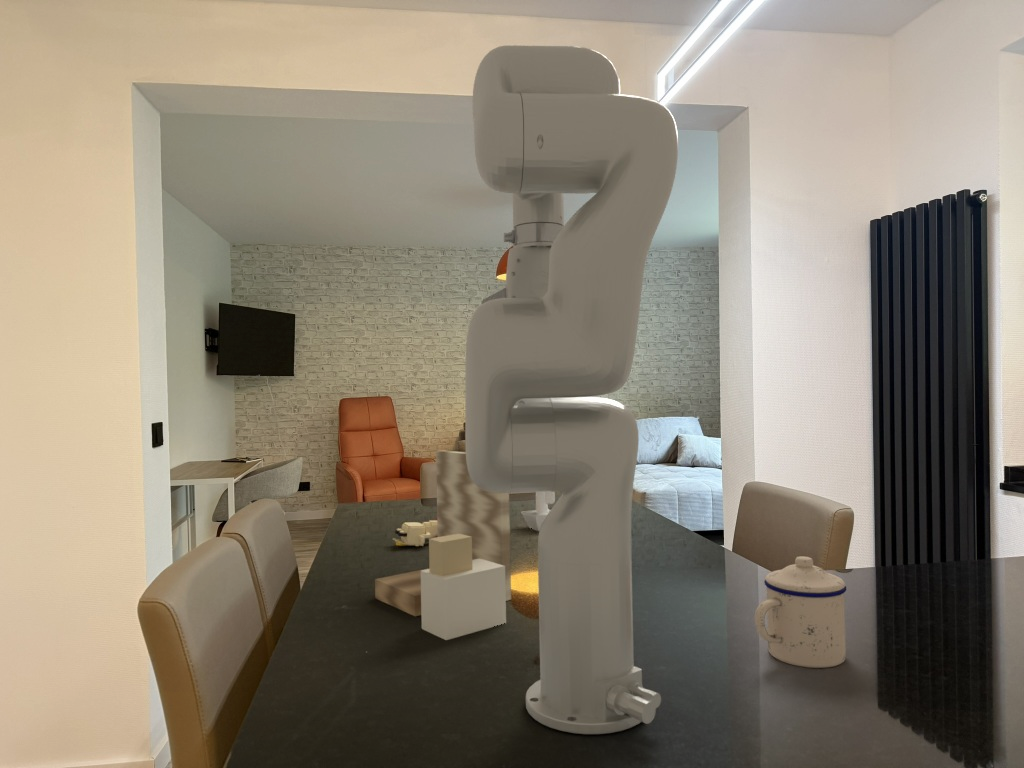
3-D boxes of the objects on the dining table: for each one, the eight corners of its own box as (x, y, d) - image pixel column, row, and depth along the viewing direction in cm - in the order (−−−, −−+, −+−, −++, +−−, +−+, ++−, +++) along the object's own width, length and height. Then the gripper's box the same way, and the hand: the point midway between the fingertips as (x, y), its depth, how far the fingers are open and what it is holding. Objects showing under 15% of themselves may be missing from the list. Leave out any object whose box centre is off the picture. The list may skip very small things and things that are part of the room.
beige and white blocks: (506, 623, 100) (504, 533, 100) (446, 640, 94) (444, 544, 94) (480, 613, 105) (478, 527, 105) (421, 629, 98) (419, 537, 98)
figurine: (538, 533, 159) (536, 466, 159) (519, 526, 168) (517, 462, 168) (566, 530, 162) (564, 464, 163) (546, 523, 171) (544, 460, 171)
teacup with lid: (805, 637, 92) (803, 546, 92) (865, 661, 84) (863, 561, 84) (730, 653, 87) (728, 556, 87) (787, 680, 79) (785, 574, 79)
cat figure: (496, 538, 162) (387, 540, 153) (498, 499, 163) (390, 499, 153) (514, 546, 153) (399, 549, 143) (516, 505, 154) (402, 506, 144)
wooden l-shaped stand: (511, 599, 111) (508, 456, 111) (426, 621, 101) (423, 465, 101) (446, 576, 125) (443, 450, 125) (366, 594, 115) (363, 457, 115)
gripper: (481, 235, 101) (483, 356, 101) (602, 235, 103) (604, 354, 103) (479, 245, 109) (481, 358, 109) (591, 245, 110) (593, 356, 110)
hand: (541, 356), depth 106 cm, fingers open, 9 cm apart
